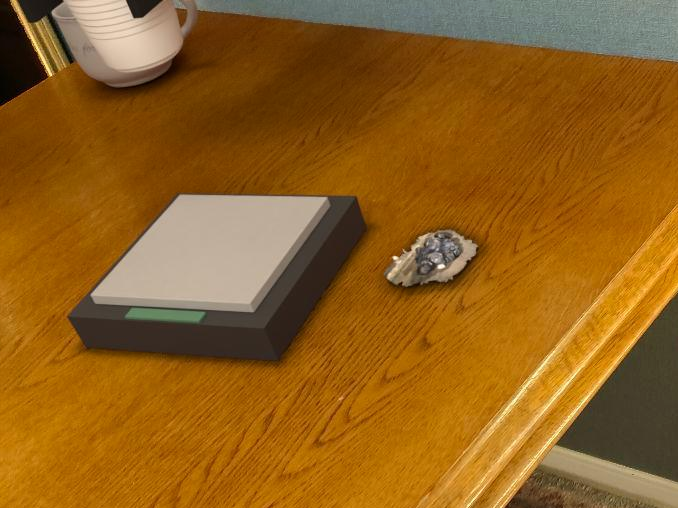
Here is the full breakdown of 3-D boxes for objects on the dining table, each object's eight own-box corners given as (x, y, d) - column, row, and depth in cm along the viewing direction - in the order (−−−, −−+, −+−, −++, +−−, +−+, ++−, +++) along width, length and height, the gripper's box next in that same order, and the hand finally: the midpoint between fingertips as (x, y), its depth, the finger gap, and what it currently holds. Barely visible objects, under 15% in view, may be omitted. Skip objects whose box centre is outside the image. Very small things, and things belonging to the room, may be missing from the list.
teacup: (70, 101, 103) (28, 20, 97) (121, 52, 109) (85, -26, 103) (188, 96, 99) (152, 12, 93) (233, 46, 106) (203, -35, 100)
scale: (85, 347, 73) (60, 307, 70) (191, 223, 82) (173, 183, 80) (278, 361, 68) (259, 318, 65) (366, 228, 78) (353, 185, 75)
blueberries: (380, 299, 71) (373, 276, 70) (394, 236, 76) (387, 214, 75) (474, 288, 70) (468, 265, 69) (481, 225, 75) (476, 202, 74)
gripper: (350, -74, 83) (226, 50, 70) (137, -59, 89) (-16, 58, 76) (322, -182, 78) (181, -69, 64) (97, -158, 84) (-76, -50, 70)
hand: (75, 0), depth 70 cm, fingers closed on cup, 8 cm apart
